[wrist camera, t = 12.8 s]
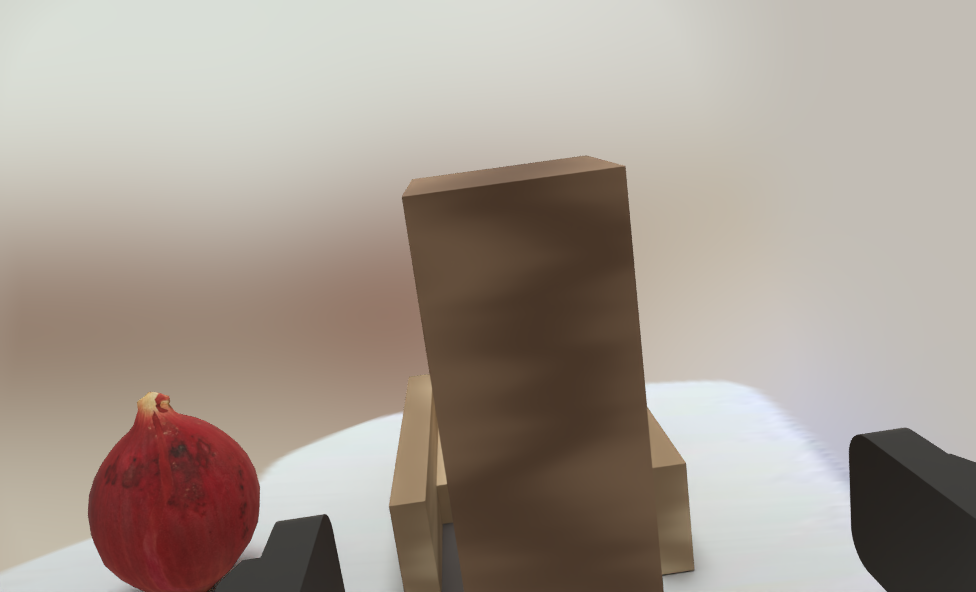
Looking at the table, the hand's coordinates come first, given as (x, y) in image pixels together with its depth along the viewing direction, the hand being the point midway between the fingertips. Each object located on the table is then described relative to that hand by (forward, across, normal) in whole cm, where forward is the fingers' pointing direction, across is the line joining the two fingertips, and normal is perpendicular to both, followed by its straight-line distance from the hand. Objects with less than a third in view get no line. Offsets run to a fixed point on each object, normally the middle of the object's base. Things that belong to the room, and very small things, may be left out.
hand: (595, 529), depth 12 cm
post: (+9, 0, +9) cm, 13 cm away
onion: (+16, +13, +10) cm, 23 cm away
